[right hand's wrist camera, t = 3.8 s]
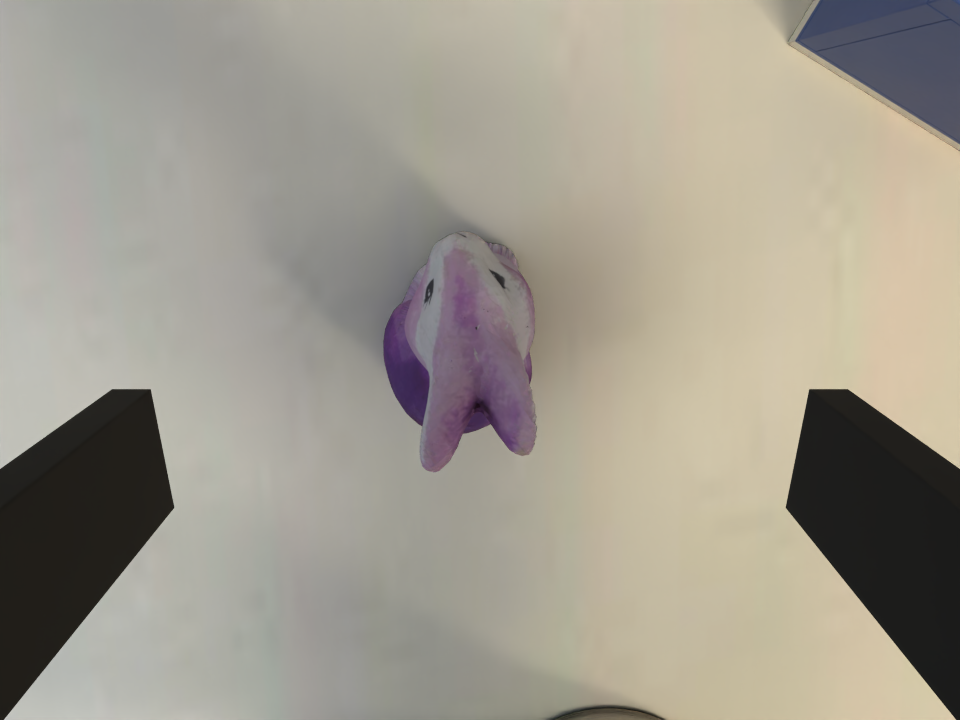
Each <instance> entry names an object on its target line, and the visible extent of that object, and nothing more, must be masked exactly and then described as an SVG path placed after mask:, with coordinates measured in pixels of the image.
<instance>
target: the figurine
mask: <svg viewBox="0 0 960 720" xmlns="http://www.w3.org/2000/svg"><path fill="white" fill-rule="evenodd" d="M534 332H535V311H534V303H533V298H532V294H531V291H530V288H529V286H528V284H527V282H526V281H525V279H524V278H523V276H522V275H521V273H520V272H519V270H518V263H517V260H516V258H515V256H514V254H513V252H512V251H511V250H510V249H507V248H506V247H505V246H503V245H498V244H492V243H489V244H488V243H487V242H485V241H484V240H483V239H481V238H480V237H479V236H477V235H475V234H473V233H470V232H464V231H461V232H457V233H455V234H450V235H448V236H446V237H445V238H443V239H441V240H439V241H438V242H437V243H436V244H435V245H434V246H433V248H432V251H431V253H430V255H429V258H428V262H427V264H426V265H424V266H423V267H422V268H421V269H419V270H418V272H417V273H416V275H415V277H414V279H413V281H412V283H411V285H410V287H409V289H408V291H407V293H406V295H405V298H404V300H403V302H402V304H400V305H399V306H398V307H397V308H396V309H395V310H394V311H393V313H392V315H391V317H390V319H389V321H388V324H387V326H386V329H385V335H384V361H385V366H386V370H387V374H388V378H389V381H390V384H391V387H392V389H393V392H394V394H395V396H396V398H397V400H398V401H399V403H400V404H401V406H402V407H403V409H404V410H405V412H406V413H407V414H408V415H409V416H410V417H411V418H412V419H413V420H414V421H416V422H417V423H418V424H419V425H421V426H423V427H422V433H421V441H420V459H421V463H422V466H423V467H424V468H425V469H426V470H428V471H432V472H437V471H439V470H440V469H442V468H443V467H444V466H445V465H446V464H447V463H448V462H449V461H450V459H451V457H452V456H453V454H454V452H455V450H456V449H457V447H458V444H459V441H460V439H461V436H462V434H464V433H469V432H473V431H476V430H479V429H481V428H483V427H485V426H488V425H489V424H491V425H492V426H493V428H494V429H495V431H496V432H497V434H498V435H499V437H500V438H501V439H502V441H503V442H504V443H505V445H506V446H507V447H508V448H509V450H511V451H512V452H514V453H515V454H518V455H521V456H524V455H529V453H530V452H531V450H532V448H533V446H534V444H535V443H534V441H535V439H536V430H537V426H536V424H535V421H536V415H535V404H534V402H533V400H532V390H531V388H530V386H529V384H530V381H531V376H532V366H531V357H530V353H529V349H530V347H531V344H532V342H533V338H534Z"/></svg>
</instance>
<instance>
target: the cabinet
mask: <svg viewBox="0 0 960 720" xmlns="http://www.w3.org/2000/svg"><path fill="white" fill-rule="evenodd" d="M787 44H789V45H791V46H792V47H794V48H795V49H797V50H799V51H800V52H802V53H803V54H805V55H807V56H808V57H810V58H811V59H813V60H815V61H816V62H818V63H819V64H821V65H823V66H824V67H826V68H827V69H829V70H831V71H832V72H834V73H835V74H837V75H839V76H840V77H842V78H844V79H845V80H847V81H848V82H850V83H852V84H853V85H855V86H856V87H858V88H860V89H861V90H863V91H864V92H866V93H868V94H869V95H871V96H872V97H874V98H876V99H877V100H879V101H880V102H882V103H884V104H885V105H887V106H888V107H890V108H892V109H893V110H895V111H897V112H898V113H900V114H901V115H903V116H905V117H906V118H908V119H909V120H911V121H913V122H914V123H916V124H917V125H919V126H921V127H922V128H924V129H925V130H927V131H929V132H930V133H932V134H933V135H935V136H937V137H938V138H940V139H941V140H943V141H945V142H946V143H948V144H950V145H951V146H953V147H954V148H956V149H958V150H959V151H960V0H813V2H812V4H811V5H810V7H809V9H808V10H807V12H806V14H805V15H804V17H803V18H802V20H801V22H800V23H799V25H798V27H797V28H796V30H795V32H794V33H793V35H792V36H791V38H790V40H789V41H788V43H787Z"/></svg>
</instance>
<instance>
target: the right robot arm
mask: <svg viewBox="0 0 960 720" xmlns="http://www.w3.org/2000/svg"><path fill="white" fill-rule="evenodd" d="M173 509H174V504H173V499H172V494H171V489H170V484H169V479H168V474H167V469H166V464H165V459H164V454H163V449H162V444H161V439H160V434H159V429H158V424H157V419H156V414H155V409H154V404H153V399H152V394H151V389H112V390H111V391H109V392H108V393H106V394H105V395H104V396H102V397H101V398H99V399H98V400H97V401H95V402H94V403H92V404H91V405H90V406H88V407H87V408H85V409H84V410H83V411H81V412H80V413H78V414H77V415H75V416H74V417H73V418H71V419H70V420H68V421H67V422H66V423H64V424H63V425H61V426H60V427H59V428H57V429H56V430H54V431H53V432H52V433H50V434H49V435H47V436H46V437H45V438H43V439H42V440H40V441H39V442H38V443H36V444H35V445H33V446H32V447H31V448H29V449H28V450H26V451H25V452H24V453H22V454H21V455H19V456H18V457H17V458H15V459H14V460H12V461H11V462H9V463H8V464H7V465H5V466H4V467H2V468H1V469H0V720H4V719H5V717H6V716H7V715H8V714H9V712H10V711H11V710H12V709H13V708H14V706H15V705H16V704H17V703H18V701H19V700H20V699H21V698H22V696H23V695H24V694H25V693H26V691H27V690H28V689H29V688H30V686H31V685H32V684H33V683H34V681H35V680H36V679H37V678H38V676H39V675H40V674H41V673H42V671H43V670H44V669H45V668H46V666H47V665H48V664H49V663H50V661H51V660H52V659H53V658H54V657H55V655H56V654H57V653H58V652H59V650H60V649H61V648H62V647H63V645H64V644H65V643H66V642H67V640H68V639H69V638H70V637H71V635H72V634H73V633H74V632H75V630H76V629H77V628H78V627H79V625H80V624H81V623H82V622H83V620H84V619H85V618H86V617H87V615H88V614H89V613H90V612H91V611H92V609H93V608H94V607H95V606H96V604H97V603H98V602H99V601H100V599H101V598H102V597H103V596H104V594H105V593H106V592H107V591H108V589H109V588H110V587H111V586H112V584H113V583H114V582H115V581H116V579H117V578H118V577H119V576H120V574H121V573H122V572H123V571H124V569H125V568H126V567H127V566H128V565H129V563H130V562H131V561H132V560H133V558H134V557H135V556H136V555H137V553H138V552H139V551H140V550H141V548H142V547H143V546H144V545H145V543H146V542H147V541H148V540H149V538H150V537H151V536H152V535H153V533H154V532H155V531H156V530H157V528H158V527H159V526H160V525H161V523H162V522H163V521H164V520H165V519H166V517H167V516H168V515H169V514H170V512H171V511H172V510H173ZM786 509H787V510H788V511H789V512H790V514H791V515H792V516H793V517H794V519H795V520H796V521H797V522H798V523H799V525H800V526H801V527H802V528H803V530H804V531H805V532H806V533H807V535H808V536H809V537H810V538H811V540H812V541H813V542H814V543H815V545H816V546H817V547H818V548H819V550H820V551H821V552H822V553H823V555H824V556H825V557H826V558H827V560H828V561H829V562H830V563H831V565H832V566H833V567H834V568H835V569H836V571H837V572H838V573H839V574H840V576H841V577H842V578H843V579H844V581H845V582H846V583H847V584H848V586H849V587H850V588H851V589H852V591H853V592H854V593H855V594H856V596H857V597H858V598H859V599H860V601H861V602H862V603H863V604H864V606H865V607H866V608H867V609H868V611H869V612H870V613H871V614H872V615H873V617H874V618H875V619H876V620H877V622H878V623H879V624H880V625H881V627H882V628H883V629H884V630H885V632H886V633H887V634H888V635H889V637H890V638H891V639H892V640H893V642H894V643H895V644H896V645H897V647H898V648H899V649H900V650H901V652H902V653H903V654H904V655H905V657H906V658H907V659H908V660H909V661H910V663H911V664H912V665H913V666H914V668H915V669H916V670H917V671H918V673H919V674H920V675H921V676H922V678H923V679H924V680H925V681H926V683H927V684H928V685H929V686H930V688H931V689H932V690H933V691H934V693H935V694H936V695H937V696H938V698H939V699H940V700H941V701H942V703H943V704H944V705H945V706H946V708H947V709H948V710H949V711H950V712H951V714H952V715H953V716H954V717H955V719H956V720H960V469H959V468H958V467H956V466H955V465H953V464H952V463H951V462H949V461H948V460H946V459H945V458H943V457H942V456H941V455H939V454H938V453H936V452H935V451H934V450H932V449H931V448H929V447H928V446H927V445H925V444H924V443H922V442H921V441H920V440H918V439H917V438H915V437H914V436H913V435H911V434H910V433H908V432H907V431H906V430H904V429H903V428H901V427H900V426H899V425H897V424H896V423H894V422H893V421H892V420H890V419H889V418H887V417H886V416H885V415H883V414H882V413H880V412H879V411H877V410H876V409H875V408H873V407H872V406H870V405H869V404H868V403H866V402H865V401H863V400H862V399H861V398H859V397H858V396H856V395H855V394H854V393H852V392H851V391H849V390H848V389H809V394H808V399H807V404H806V409H805V414H804V419H803V424H802V429H801V434H800V439H799V444H798V449H797V454H796V459H795V464H794V469H793V474H792V479H791V484H790V489H789V494H788V499H787V504H786ZM555 720H661V719H659V718H657V717H654V716H651V715H649V714H646V713H642V712H638V711H633V710H627V709H617V708H602V709H591V710H584V711H579V712H575V713H571V714H568V715H565V716H562V717H559V718H557V719H555Z"/></svg>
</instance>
